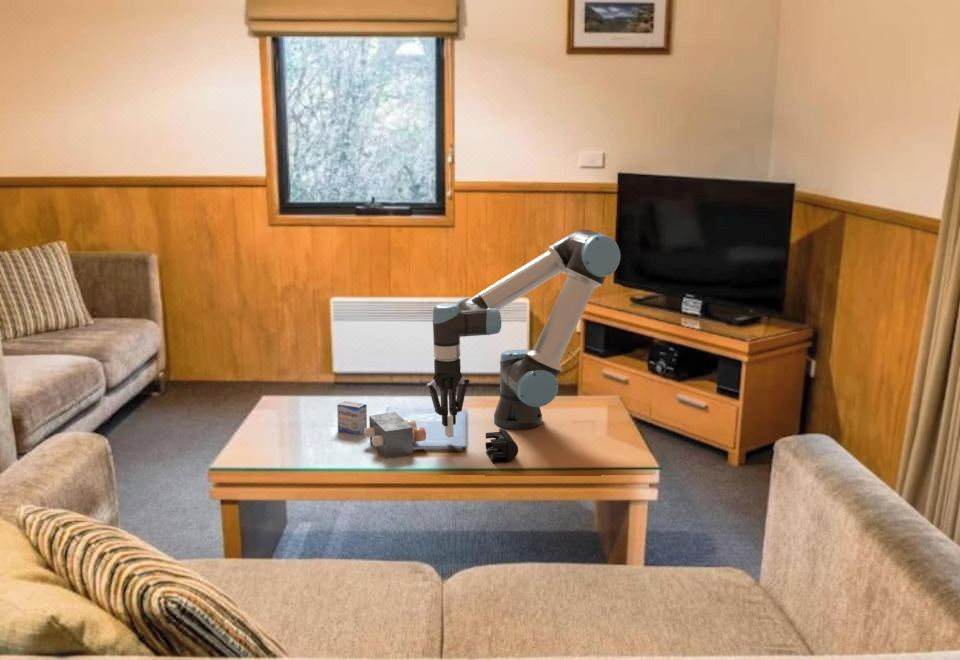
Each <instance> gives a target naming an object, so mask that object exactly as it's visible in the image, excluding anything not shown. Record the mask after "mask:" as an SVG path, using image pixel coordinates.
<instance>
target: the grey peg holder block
mask: <svg viewBox="0 0 960 660" xmlns="http://www.w3.org/2000/svg"><path fill="white" fill-rule="evenodd" d="M368 417H369V419H368V421H369V428H370V427H374V428H375V436H380V435H382V436H383V445H381V446H374V447H375V449H376V450H377V451H378V452H379V453H380V454H381V455H382V456H383V457H384V458H385V459H392V458H397V457H404V456H410V455H414V445H413V444H414V441H413V427H412V426H410V425H409V424H408V423H407V422H406V421H407V420H405V419H404V418H403V417H401V416H400V414H398V413H397V412H393V411H392V412H386V413H381V414H373V415H372V414H371V415H369V416H368ZM369 442H370V443H371V445H373V443H372V437H369Z"/></svg>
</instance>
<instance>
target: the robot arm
mask: <svg viewBox="0 0 960 660" xmlns="http://www.w3.org/2000/svg"><path fill="white" fill-rule="evenodd" d="M617 243H618V242H616V241H615V240H614V239H613V238H612V237H610V236H608V235H606V234H605V233H601V232H596V231H592V230H589V229H579V230H576V231H574V232H571V233H569V234H568V235H566V236H564V237H562V238H561V239H560V240H558V241H556V242H555V243H552V244H551V245H549V246H548V247H547V251H546V252H544V253H543V254H541V255H539V256H538V257H536V258H534V259H533V260H531V261H529V262H528V263H527V264H525V265H523V266H521V267H519V268H518V269H516V270H515V271H513V272H511V273H510V274H508V275H506V276H505V277H503V278H501V279H500V280H498V281H496V282H495V283H493V284H492V285H490V286H488V287H487V288H485V289H484V290H482V291H481V292H479V293H477V294H475V295H473V296H472V297H468V298H467V297H465V298H462V299H460V300H458V301H457V302H456V303H438V304H436V305H434V307H433V309H432V330H433V357H434V359H433V363H434V364H433V366H434V367H433V368H434V375H433V378H432V381H430V382H426V384H425V386H426V388H427V389H428V390H429V393H430V394H429V395H430V397H431V400H432V404H433V405H432V406H433V408H434V412H435V413H436V414H437V415H439V416H441V424H442V426H443V427H444V434H445V436H446V437H448V438H454V425H456V423H457V421H456V420H457V415H458V413H460V412H462V411H463V407H464V402H465V396H466V392H467V387H468V385H469V383H470V379H468V378H467V377H465V376H463V374H462V373H461V372H462V371H461V366H462V365H461V358H460V357H461V338H462V337H463V338H464V337H475V336H477V337H478V336H492V335H496V334H499V333H500V331H501V330H502V315H501V312H500V310H501V309H502V308H504V307H506V306H508V305H509V304H511V303H513V302H514V301H516V300H518V299H519V298H522V296H524V295H526V294H528V293H529V292H531V291H533V290H535V289H536V288H538V287H539V286H541V285H543V284H544V283H546V282H548V281H549V280H551V279H552V278H554V277H556V276H557V275H559V274H563V275H565V274H567V278H566V279H565V281H564V283H563V286H562V288H561V290H560V292H559V294H558V297H557V299H556V301H555V302H554V305H553V306H552V310H551V312H550V313H549V316H547V320H546V322H545V324H544V326H543V327H542V330H541V332H540V334H539V336H538V339H537V341H536V343H535V345H534V348H533V349H511V350H505V351H502V353H501V354H500V361H499V365H500V367H499V368H500V369H499V371H500V372H499V373H500V374H499V382H500V383H499V399H498V402H497V405H496V408H495V410H494V411H495V412H494V413H493V414H494V415H493V423H494V424H495V425H497V426H498V427H501V428H503V429H508V430H530V429H534V428H537V427H540V426H541V425H542V424H543V414H542V410H541V407H544V406H547V405H548V404H550V403H551V402H552V401H554V399H555V398H556V396H557V395H558V391H559V382H558V378H559V376H560V374H561V372H562V370H563V369H562V367H561V364H560V362H561V360H562V357H563V356H564V353H565V351H566V349H567V347H568V344H569V343H570V341H571V339H572V337H573V334H574V332H575V330H576V328H577V326H578V324H579V322H580V320H581V318H582V316H583V314H584V312H585V309H586V307H587V306H588V303H589V301H590V299H591V297H592V295H593V293H594V291H595V289H597V288H600V287H601V286H603V283H604V281H605V280H606V278H607V276H609V275H611V274H613V273H614V272H615V271H616V270H617V268H618V266H620V261H621V250H620V248H619V245H618V244H617ZM437 386H438V388H439V392H440V399H439V395H438V392H437V390H436V388H437ZM457 387H458V389H457Z"/></svg>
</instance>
